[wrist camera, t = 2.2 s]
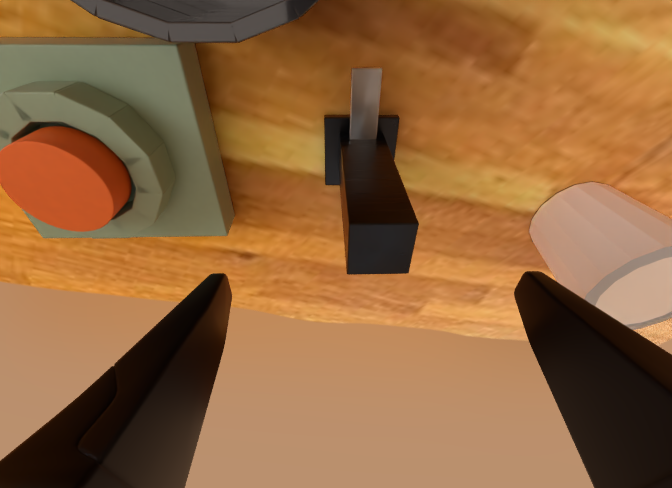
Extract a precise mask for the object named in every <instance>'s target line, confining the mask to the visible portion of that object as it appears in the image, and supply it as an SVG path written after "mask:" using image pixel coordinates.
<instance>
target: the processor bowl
mask: <svg viewBox="0 0 672 488" xmlns="http://www.w3.org/2000/svg"><path fill="white" fill-rule="evenodd" d="M71 1H73V2H74V3H76V4H77V5H79V6H80V7H82V8H83V9H85V10H86V11H88V12H89V13H91V14H92V15H94V16H97V17H98V18H100V19H103V20H106V21H109V22H111V23H114V24H117V25H120V26H123V27H126V28H129V29H132V30H135V31H138V32H141V33H143V34H146V35H149V36H152V37H155V38H158V39H161V40H164V41H167V42H172V43H237V42H238V43H240V42H242V41H245V40H247V39H250V38H252V37H255V36H257V35H260V34H262V33H265V32H267V31H270V30H272V29H275V28H277V27H280V26H282V25H285V24H287V23H290V22H292V21H295V20H297V19H299V18H300V17H302V16H303V15H304V14H305V13H306V12H307V11H308V10H309V9H311V8H312V7H313V6H314V5H315V4H316V3H317V2H318V1H319V0H71Z"/></svg>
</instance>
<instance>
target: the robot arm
mask: <svg viewBox="0 0 672 488" xmlns="http://www.w3.org/2000/svg"><path fill="white" fill-rule="evenodd" d="M514 296H515V300H516V303H517V306H518V309H519V312H520V315H521V318H522V322H523V325H524V328H525V331H526V334H527V337H528V339H529V342H530V345H531V347H532V349H533V352H534V354H535V356H536V358H537V361H538V363H539V365H540V367H541V370H542V372H543V374H544V376H545V378H546V381H547V383H548V385H549V387H550V389H551V392H552V394H553V396H554V399H555V401H556V403H557V405H558V407H559V410H560V412H561V414H562V416H563V419H564V421H565V423H566V425H567V428H568V430H569V432H570V434H571V436H572V439H573V441H574V443H575V446H576V448H577V450H578V452H579V454H580V457H581V459H582V461H583V463H584V466H585V468H586V470H587V472H588V475H589V477H590V479H591V481H592V484H593V486H594V488H672V355H671V354H670V353H668V352H666V351H665V350H663V349H662V348H660V347H659V346H657V345H655V344H654V343H652V342H651V341H649V340H648V339H646V338H644V337H643V336H641V335H640V334H638V333H637V332H635V331H633V330H632V329H630V328H629V327H627V326H626V325H624V324H622V323H621V322H619V321H618V320H616V319H614V318H613V317H611V316H610V315H608V314H607V313H605V312H603V311H602V310H600V309H599V308H597V307H596V306H594V305H592V304H591V303H589V302H588V301H586V300H585V299H583V298H581V297H580V296H578V295H577V294H575V293H574V292H572V291H570V290H569V289H567V288H566V287H564V286H563V285H561V284H559V283H558V282H556V281H555V280H553V279H551V278H550V277H548V276H547V275H545V274H544V273H542V272H539V271H527V272H525V273H524V274H523V275H522V277H521V279H520V281H519V283H518V285H517V286H516V288H515V291H514ZM231 301H232V292H231V289H230V285H229V282H228V278H227V276H226V274H223V273H219V274H211V275H209V276H208V277H207V278H206V279H205V280H204V281H203V282H202V283H201V284H200V285H198V286H197V287H196V288H195V289H194V290H193V291H192V292H191V293H190V294H189V295H188V296H187V297H186V298H185V299H184V300H182V301H181V302H180V303H179V304H178V305H177V306H176V307H175V308H174V309H173V310H172V311H171V312H170V313H169V314H167V315H166V316H165V317H164V318H163V319H162V320H161V321H160V322H159V323H158V324H157V325H156V326H155V327H154V328H152V329H151V330H150V331H149V332H148V333H147V334H146V335H145V336H144V337H143V338H142V339H141V340H140V341H139V342H138V343H136V344H135V345H134V346H133V347H132V348H131V349H130V350H129V351H128V352H127V353H126V354H125V355H124V356H123V357H122V358H120V359H119V360H118V361H117V362H116V363H115V365H114V366H112V367H111V368H110V369H108V371H106V372H105V373H104V374H103V375H102V376H101V377H100V378H99V379H98V380H97V381H95V382H94V383H93V384H92V385H91V386H90V387H89V388H88V389H87V390H85V391H84V392H83V393H82V394H81V395H80V396H79V397H78V398H76V399H75V400H74V401H73V402H72V403H70V404H69V405H68V406H67V407H66V408H65V409H63V410H62V411H61V412H60V413H59V414H57V415H56V416H55V417H54V418H52V419H51V420H50V421H49V422H48V423H46V424H45V425H44V426H43V427H42V428H40V429H39V430H38V431H36V432H35V433H34V434H33V435H31V436H30V437H29V438H28V439H27V440H25V441H24V442H23V443H22V444H20V445H19V446H18V447H17V448H16V449H14V450H13V451H12V452H11V453H10V454H8V455H7V456H6V457H4V458H3V459H2V460H1V461H0V488H185V485H186V481H187V478H188V474H189V470H190V467H191V463H192V460H193V456H194V453H195V449H196V446H197V442H198V439H199V435H200V431H201V428H202V424H203V420H204V417H205V413H206V410H207V407H208V403H209V399H210V395H211V392H212V389H213V385H214V382H215V378H216V375H217V371H218V367H219V364H220V360H221V356H222V353H223V349H224V344H225V339H226V333H227V326H228V320H229V313H230V307H231Z"/></svg>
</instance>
